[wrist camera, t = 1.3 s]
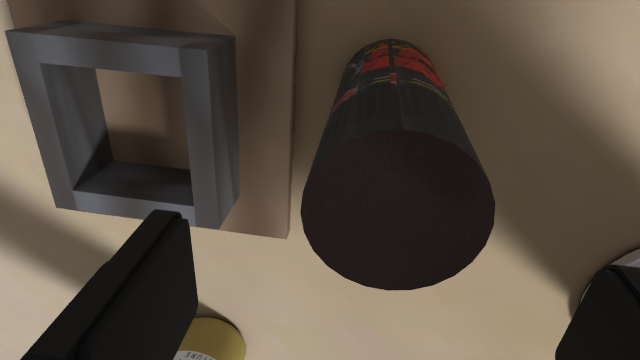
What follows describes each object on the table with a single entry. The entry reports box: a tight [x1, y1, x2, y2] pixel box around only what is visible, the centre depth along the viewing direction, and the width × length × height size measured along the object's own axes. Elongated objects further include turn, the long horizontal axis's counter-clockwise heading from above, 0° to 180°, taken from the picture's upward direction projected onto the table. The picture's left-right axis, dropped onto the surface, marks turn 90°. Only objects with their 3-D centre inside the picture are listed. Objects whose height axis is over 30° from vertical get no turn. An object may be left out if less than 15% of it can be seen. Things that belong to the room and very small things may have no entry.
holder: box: [5, 0, 298, 239], centre depth 26 cm, size 18×18×6 cm
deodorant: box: [301, 39, 495, 290], centre depth 19 cm, size 6×6×15 cm
